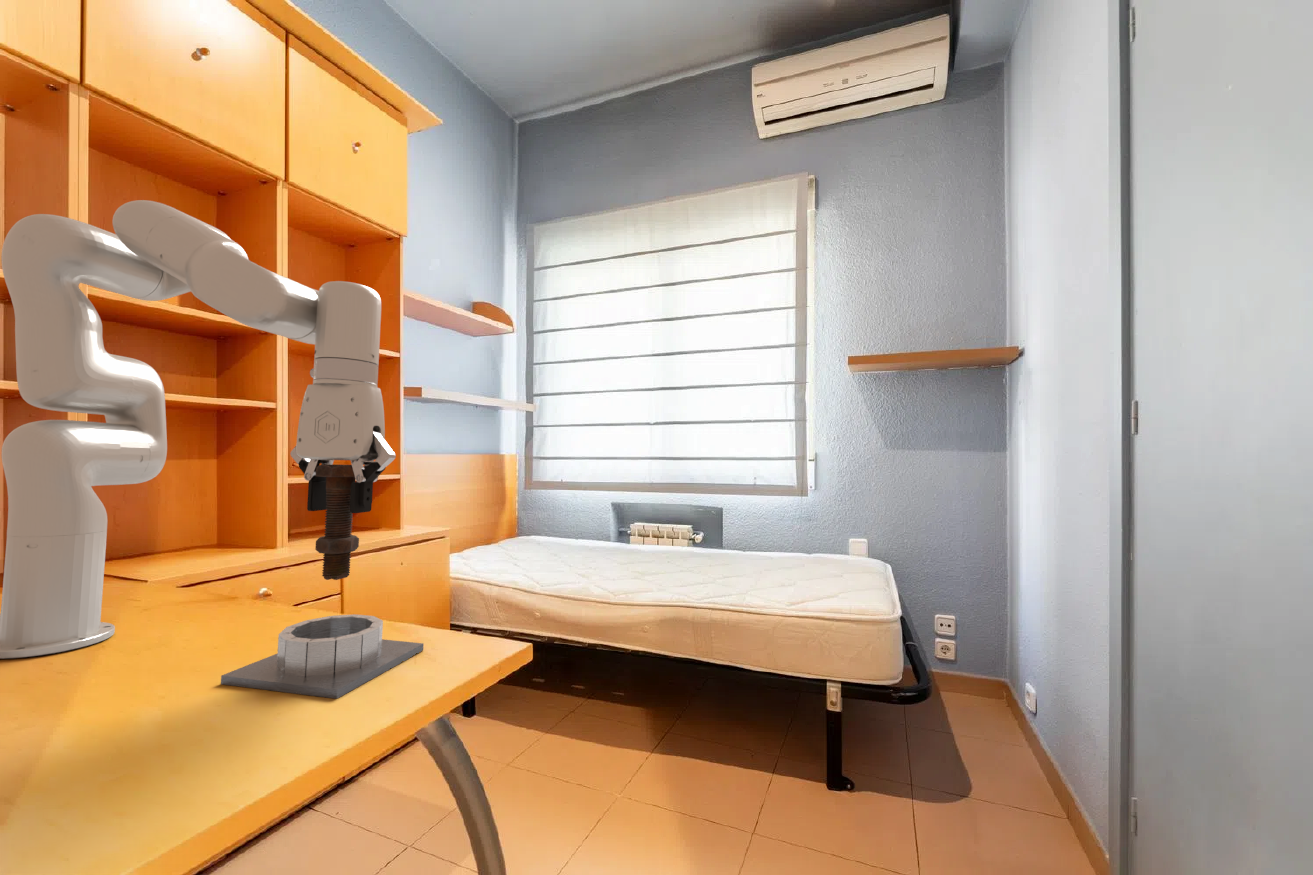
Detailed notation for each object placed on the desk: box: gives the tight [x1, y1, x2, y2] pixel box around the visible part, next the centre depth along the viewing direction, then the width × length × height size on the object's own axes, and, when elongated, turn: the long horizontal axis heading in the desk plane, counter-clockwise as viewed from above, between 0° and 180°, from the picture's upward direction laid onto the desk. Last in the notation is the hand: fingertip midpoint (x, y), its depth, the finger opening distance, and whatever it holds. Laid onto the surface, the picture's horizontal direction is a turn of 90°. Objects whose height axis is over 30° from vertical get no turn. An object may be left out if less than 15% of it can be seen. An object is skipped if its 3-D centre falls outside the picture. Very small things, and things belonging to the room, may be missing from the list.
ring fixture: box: [220, 613, 424, 700], centre depth 70 cm, size 16×16×5 cm
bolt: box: [314, 464, 365, 581], centre depth 71 cm, size 6×5×15 cm
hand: (339, 509), depth 71 cm, fingers closed on bolt, 5 cm apart
